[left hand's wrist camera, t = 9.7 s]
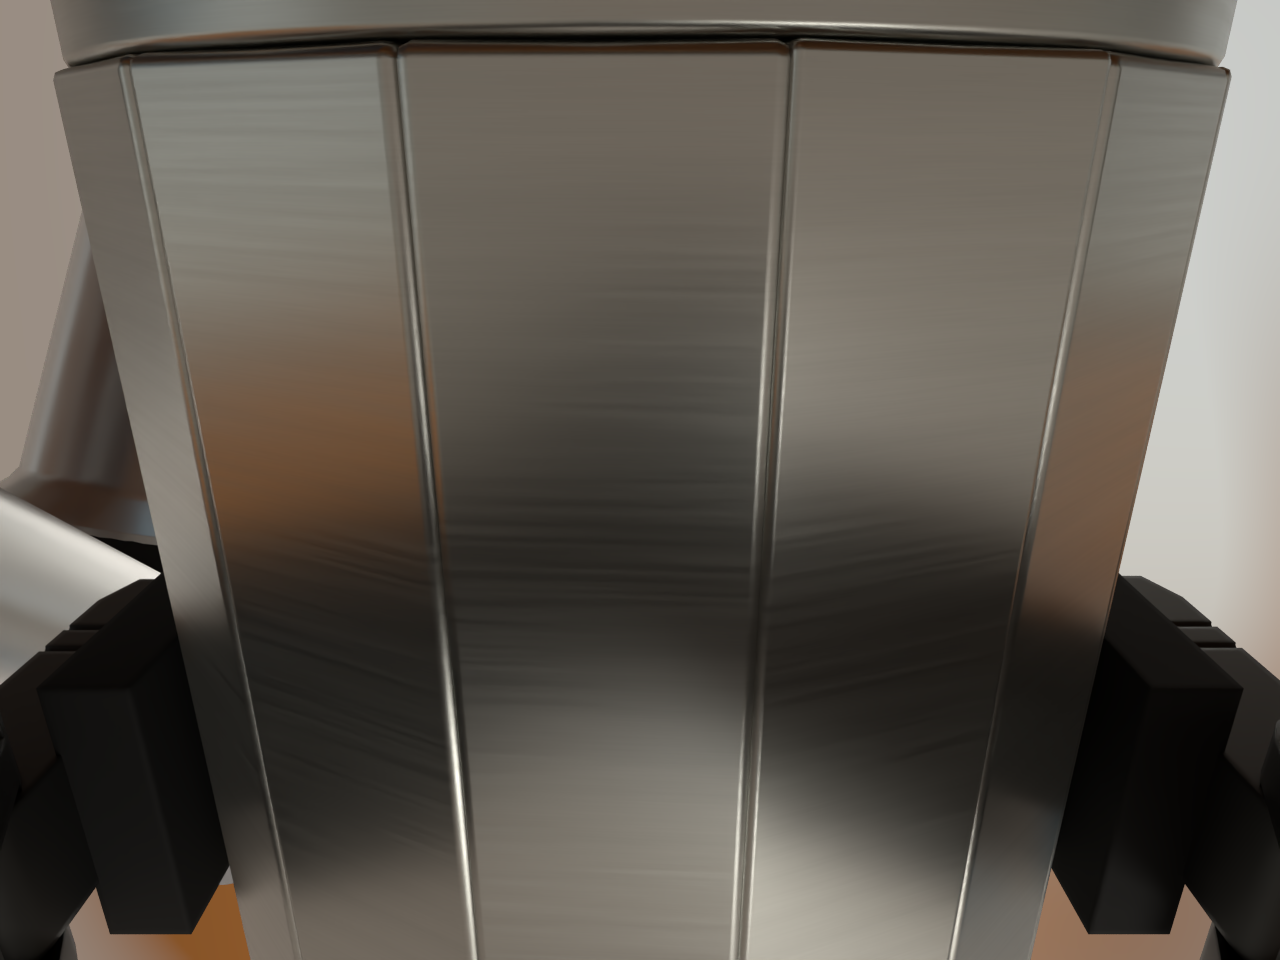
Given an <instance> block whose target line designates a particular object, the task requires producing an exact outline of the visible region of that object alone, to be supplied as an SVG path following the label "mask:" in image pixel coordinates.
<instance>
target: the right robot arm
mask: <svg viewBox="0 0 1280 960" xmlns="http://www.w3.org/2000/svg"><path fill="white" fill-rule="evenodd" d="M162 572H163V567H162V562H161V558H160V553H159V549H158V544H157V540H156V536H155V531H154V527H153V522H152V518H151V513H150V509H149V504H148V500H147V495H146V491H145V486H144V482H143V478H142V473H141V469H140V464H139V460H138V455H137V451H136V446H135V442H134V437H133V433H132V429H131V424H130V420H129V415H128V411H127V406H126V402H125V397H124V393H123V388H122V384H121V380H120V375H119V371H118V366H117V362H116V357H115V353H114V348H113V344H112V339H111V335H110V330H109V326H108V322H107V317H106V313H105V308H104V304H103V299H102V295H101V290H100V286H99V281H98V277H97V273H96V268H95V264H94V259H93V255H92V250H91V246H90V241H89V237H88V232H87V228H86V224H85V219H84V215H83V210H82V213H81V217H80V221H79V225H78V229H77V233H76V238H75V242H74V246H73V250H72V254H71V258H70V262H69V266H68V270H67V274H66V278H65V282H64V287H63V291H62V295H61V299H60V303H59V307H58V311H57V315H56V319H55V323H54V327H53V331H52V335H51V339H50V343H49V347H48V352H47V356H46V360H45V364H44V368H43V372H42V376H41V380H40V384H39V388H38V392H37V396H36V401H35V405H34V409H33V413H32V417H31V421H30V425H29V429H28V433H27V437H26V441H25V445H24V449H23V454H22V458H21V462H20V466H19V467H18V468H17V469H16V470H15V471H14V472H13V473H12V474H11V475H10V476H9V477H7V478H5V479H4V480H2V481H0V685H1V684H2V683H3V682H4V681H5V680H6V679H7V678H9V677H10V676H11V675H12V674H13V673H14V672H16V671H17V670H18V669H19V668H20V667H21V666H23V665H24V664H25V663H26V662H27V661H28V660H29V659H31V658H32V657H33V656H34V655H35V654H36V653H38V652H39V651H45V646H46V645H47V644H48V643H49V642H50V641H51V640H53V639H54V638H55V637H56V636H57V635H58V634H60V633H61V632H62V631H63V630H69V625H70V624H71V623H72V622H73V621H75V620H76V619H77V618H78V617H79V616H80V615H82V614H83V613H84V612H85V611H86V610H87V609H89V608H90V607H91V606H92V605H93V604H94V603H95V602H97V601H98V600H100V599H101V598H103V597H105V596H107V595H109V594H111V593H113V592H115V591H117V590H119V589H121V588H123V587H125V586H127V585H129V584H131V583H133V582H135V581H137V580H139V579H155V578H156V577H157V576H158V575H160V574H161V573H162ZM231 883H233V879H232V874H231V870H230V866H229V868H228V869H227V871H226V873H225V875H224V877H223V878H222V880H221V882H220V884H219V885H224V884H231Z"/></svg>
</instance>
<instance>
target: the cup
mask: <svg viewBox="0 0 1280 960" xmlns="http://www.w3.org/2000/svg"><path fill="white" fill-rule="evenodd" d="M1236 3H1237V0H51V5H52V9H53V14H54V19H55V23H56V28H57V32H58V37H59V41H60V46H61V50H62V55H63V59H64V61H65V63H66V64H67V66H68V67H69V68H67V69H63V70H60V71H58V72H56V73H55V75H54V80H53V81H54V85H55V90H56V94H57V99H58V103H59V108H60V112H61V117H62V121H63V125H64V130H65V134H66V139H67V143H68V148H69V152H70V157H71V161H72V166H73V170H74V174H75V179H76V183H77V188H78V192H79V197H80V201H81V206H82V210H83V215H84V219H85V224H86V228H87V232H88V237H89V241H90V246H91V250H92V255H93V259H94V264H95V268H96V273H97V277H98V281H99V286H100V290H101V295H102V299H103V304H104V308H105V313H106V317H107V322H108V326H109V330H110V335H111V339H112V344H113V348H114V353H115V357H116V362H117V366H118V371H119V375H120V380H121V384H122V388H123V393H124V397H125V402H126V406H127V411H128V415H129V420H130V424H131V429H132V433H133V437H134V442H135V446H136V451H137V455H138V460H139V464H140V469H141V473H142V478H143V482H144V486H145V491H146V495H147V500H148V504H149V509H150V513H151V518H152V522H153V527H154V531H155V536H156V540H157V544H158V549H159V553H160V558H161V562H162V567H163V571H164V576H165V580H166V585H167V589H168V593H169V598H170V602H171V607H172V611H173V616H174V620H175V625H176V629H177V634H178V638H179V642H180V647H181V651H182V656H183V660H184V665H185V669H186V674H187V678H188V683H189V687H190V692H191V696H192V700H193V705H194V709H195V714H196V718H197V723H198V727H199V732H200V736H201V741H202V745H203V749H204V754H205V758H206V763H207V767H208V772H209V776H210V781H211V785H212V790H213V794H214V798H215V803H216V807H217V812H218V816H219V821H220V825H221V830H222V834H223V839H224V843H225V848H226V852H227V856H228V861H229V865H230V870H231V874H232V879H233V883H234V888H235V892H236V897H237V901H238V905H239V910H240V914H241V919H242V923H243V928H244V932H245V937H246V941H247V945H248V950H249V954H250V959H251V960H1030V959H1031V955H1032V950H1033V946H1034V942H1035V937H1036V933H1037V928H1038V924H1039V920H1040V915H1041V911H1042V906H1043V902H1044V898H1045V893H1046V889H1047V885H1048V880H1049V876H1050V871H1051V867H1052V863H1053V858H1054V854H1055V849H1056V845H1057V841H1058V836H1059V832H1060V828H1061V823H1062V819H1063V814H1064V810H1065V806H1066V801H1067V797H1068V792H1069V788H1070V784H1071V779H1072V775H1073V770H1074V766H1075V762H1076V757H1077V753H1078V748H1079V744H1080V740H1081V735H1082V731H1083V727H1084V722H1085V718H1086V713H1087V709H1088V705H1089V700H1090V696H1091V691H1092V687H1093V683H1094V678H1095V674H1096V669H1097V665H1098V661H1099V656H1100V652H1101V647H1102V643H1103V639H1104V634H1105V630H1106V626H1107V621H1108V617H1109V612H1110V608H1111V604H1112V599H1113V595H1114V590H1115V586H1116V582H1117V577H1118V573H1119V568H1120V564H1121V560H1122V555H1123V551H1124V546H1125V542H1126V538H1127V533H1128V529H1129V525H1130V520H1131V516H1132V511H1133V507H1134V503H1135V498H1136V494H1137V489H1138V485H1139V480H1140V476H1141V472H1142V467H1143V463H1144V459H1145V454H1146V450H1147V445H1148V441H1149V437H1150V432H1151V428H1152V423H1153V419H1154V415H1155V410H1156V406H1157V402H1158V397H1159V393H1160V388H1161V384H1162V380H1163V375H1164V371H1165V366H1166V362H1167V358H1168V353H1169V349H1170V344H1171V340H1172V336H1173V331H1174V327H1175V323H1176V318H1177V314H1178V309H1179V305H1180V301H1181V296H1182V292H1183V287H1184V283H1185V278H1186V274H1187V270H1188V265H1189V261H1190V257H1191V252H1192V248H1193V243H1194V239H1195V235H1196V230H1197V226H1198V222H1199V217H1200V213H1201V208H1202V204H1203V200H1204V195H1205V191H1206V186H1207V182H1208V178H1209V173H1210V169H1211V164H1212V160H1213V156H1214V151H1215V147H1216V142H1217V138H1218V134H1219V129H1220V125H1221V121H1222V116H1223V111H1224V107H1225V103H1226V99H1227V94H1228V90H1229V85H1230V81H1231V73H1230V70H1229V69H1227V68H1224V67H1218V66H1219V64H1220V63H1221V61H1222V59H1223V58H1224V56H1225V53H1226V48H1227V44H1228V39H1229V35H1230V30H1231V25H1232V21H1233V17H1234V12H1235V8H1236Z"/></svg>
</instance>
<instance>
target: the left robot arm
mask: <svg viewBox="0 0 1280 960" xmlns="http://www.w3.org/2000/svg"><path fill="white" fill-rule="evenodd" d="M1235 644H1236V643H1235V642H1234V641H1233V640H1232V639H1231V638H1230V637H1228V636H1227V635H1226V634H1225V633H1224V632H1223V631H1221V630H1220V629H1219V628H1218V627H1212V626H1211V621H1210V620H1209V619H1208V618H1206V617H1205V616H1204V615H1203V614H1202V613H1200V612H1199V611H1198V610H1197V609H1196V608H1195V607H1193V606H1192V605H1191V604H1190V603H1189V602H1188V601H1186V600H1185V599H1184V598H1183V597H1181V596H1179V595H1177V594H1175V593H1173V592H1171V591H1170V590H1167V589H1166V588H1164V587H1162V586H1160V585H1158V584H1156V583H1154V582H1152V581H1150V580H1148V579H1146V578H1144V577H1142V576H1121V575H1120V574H1119V573H1118V577H1117V582H1116V586H1115V590H1114V595H1113V599H1112V604H1111V608H1110V612H1109V617H1108V621H1107V626H1106V630H1105V634H1104V639H1103V643H1102V647H1101V652H1100V656H1099V661H1098V665H1097V669H1096V674H1095V678H1094V683H1093V687H1092V691H1091V696H1090V700H1089V705H1088V709H1087V713H1086V718H1085V722H1084V727H1083V731H1082V735H1081V740H1080V744H1079V748H1078V753H1077V757H1076V762H1075V766H1074V770H1073V775H1072V779H1071V784H1070V788H1069V792H1068V797H1067V801H1066V806H1065V810H1064V814H1063V819H1062V823H1061V828H1060V832H1059V836H1058V841H1057V845H1056V849H1055V854H1054V858H1053V863H1052V867H1051V868H1052V870H1053V871H1054V873H1055V875H1056V877H1057V879H1058V881H1059V882H1060V884H1061V886H1062V888H1063V889H1064V891H1065V893H1066V895H1067V897H1068V898H1069V900H1070V902H1071V904H1072V906H1073V907H1074V909H1075V911H1076V913H1077V914H1078V916H1079V918H1080V920H1081V922H1082V923H1083V925H1084V927H1085V929H1086V931H1087V932H1088V934H1170V931H1171V928H1172V925H1173V921H1174V918H1175V915H1176V911H1177V908H1178V905H1179V901H1180V898H1181V895H1182V892H1183V888H1184V885H1186V886H1187V887H1188V889H1189V890H1190V891H1191V893H1192V894H1193V896H1194V897H1195V898H1196V900H1197V901H1198V902H1199V904H1200V905H1201V907H1202V908H1203V909H1204V911H1205V912H1206V913H1207V915H1208V916H1209V918H1210V919H1211V920H1212V924H1211V926H1210V929H1209V933H1208V936H1207V939H1206V942H1205V945H1204V948H1203V951H1202V954H1201V957H1200V960H1280V680H1279V679H1278V678H1276V677H1275V676H1274V675H1273V674H1272V673H1270V672H1269V671H1268V670H1267V669H1266V668H1265V667H1264V666H1262V665H1261V664H1260V663H1259V662H1258V661H1257V660H1255V659H1254V658H1253V657H1252V656H1251V655H1250V654H1248V653H1247V652H1246V651H1245V650H1244V649H1243V648H1236V645H1235ZM229 866H230V865H229V861H228V856H227V852H226V848H225V843H224V839H223V834H222V830H221V825H220V821H219V816H218V812H217V807H216V803H215V798H214V794H213V790H212V785H211V781H210V776H209V772H208V767H207V763H206V758H205V754H204V749H203V745H202V741H201V736H200V732H199V727H198V723H197V718H196V714H195V709H194V705H193V700H192V696H191V692H190V687H189V683H188V678H187V674H186V669H185V665H184V660H183V656H182V651H181V647H180V642H179V638H178V634H177V629H176V625H175V620H174V616H173V611H172V607H171V602H170V598H169V593H168V589H167V585H166V580H165V576H164V571H163V572H162V573H161V574H160V575H158V576H157V577H156V578H155V579H139V580H137V581H135V582H133V583H131V584H129V585H127V586H125V587H123V588H121V589H119V590H117V591H115V592H113V593H111V594H109V595H107V596H105V597H103V598H101V599H100V600H98V601H97V602H95V603H94V604H93V605H92V606H91V607H90V608H89V609H87V610H86V611H85V612H84V613H83V614H82V615H80V616H79V617H78V618H77V619H76V620H75V621H73V622H72V623H71V624H70V625H69V630H63V631H62V632H61V633H60V634H58V635H57V636H56V637H55V638H54V639H53V640H51V641H50V642H49V643H48V644H47V645H46V646H45V651H39V652H38V653H36V654H35V655H34V656H33V657H32V658H31V659H29V660H28V661H27V662H26V663H25V664H24V665H23V666H21V667H20V668H19V669H18V670H17V671H16V672H14V673H13V674H12V675H11V676H10V677H9V678H7V679H6V680H5V681H4V682H3V683H2V684H1V685H0V960H78V959H77V953H76V946H75V942H74V939H73V936H72V933H71V930H70V926H69V924H70V922H71V921H72V920H73V918H74V917H75V915H76V914H77V913H78V911H79V910H80V908H81V907H82V906H83V904H84V903H85V901H86V900H87V899H88V897H89V896H90V895H91V893H92V892H93V890H94V889H95V888H96V889H97V892H98V896H99V899H100V902H101V906H102V909H103V912H104V915H105V919H106V922H107V925H108V928H109V932H110V934H192V932H193V930H194V928H195V927H196V925H197V923H198V921H199V919H200V918H201V916H202V914H203V912H204V911H205V909H206V907H207V905H208V903H209V902H210V900H211V898H212V896H213V894H214V893H215V891H216V889H217V887H218V885H219V884H220V882H221V880H222V878H223V877H224V875H225V873H226V871H227V869H228V868H229Z"/></svg>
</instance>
